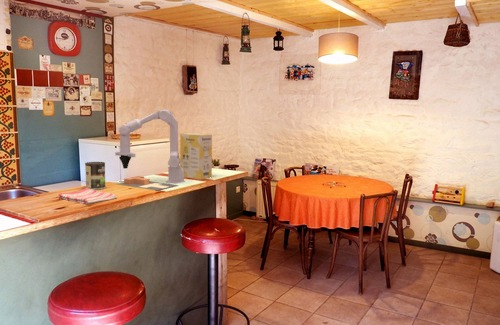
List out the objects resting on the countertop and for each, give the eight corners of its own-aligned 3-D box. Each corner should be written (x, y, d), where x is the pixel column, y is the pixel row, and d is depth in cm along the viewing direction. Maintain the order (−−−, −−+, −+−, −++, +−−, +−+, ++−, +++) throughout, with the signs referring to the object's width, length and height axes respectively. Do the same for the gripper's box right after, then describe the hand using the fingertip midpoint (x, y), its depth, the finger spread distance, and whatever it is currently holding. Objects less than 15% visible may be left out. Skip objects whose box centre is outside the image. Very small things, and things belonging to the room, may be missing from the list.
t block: (139, 180, 251) (139, 176, 250) (154, 183, 245) (154, 178, 244) (124, 183, 240) (124, 178, 240) (139, 186, 234) (139, 181, 234)
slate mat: (138, 180, 255) (138, 179, 255) (178, 185, 240) (178, 185, 240) (115, 184, 239) (115, 184, 239) (156, 191, 224) (156, 190, 224)
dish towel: (87, 193, 217) (87, 186, 217) (117, 199, 205) (117, 192, 205) (57, 199, 203) (57, 192, 203) (88, 206, 191) (88, 198, 190)
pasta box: (211, 177, 270) (211, 134, 267) (200, 179, 262) (200, 135, 258) (191, 174, 281) (191, 133, 277) (180, 176, 273) (180, 133, 269)
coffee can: (109, 186, 233) (108, 162, 231) (99, 190, 223) (98, 164, 221) (92, 185, 235) (91, 161, 233) (81, 189, 225) (81, 163, 223)
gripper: (111, 145, 245) (111, 167, 247) (128, 146, 238) (129, 170, 240) (120, 144, 251) (120, 166, 253) (137, 146, 244) (138, 168, 246)
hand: (125, 168), depth 247 cm, fingers closed
